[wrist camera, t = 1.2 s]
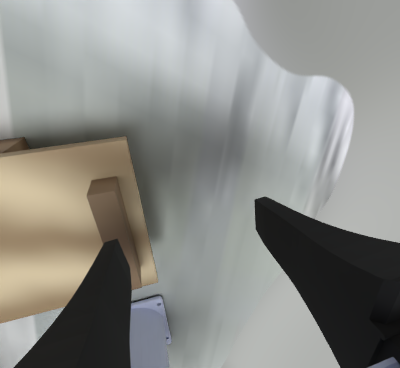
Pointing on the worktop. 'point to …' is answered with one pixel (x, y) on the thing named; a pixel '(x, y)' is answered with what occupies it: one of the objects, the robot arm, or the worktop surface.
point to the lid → (66, 222)
